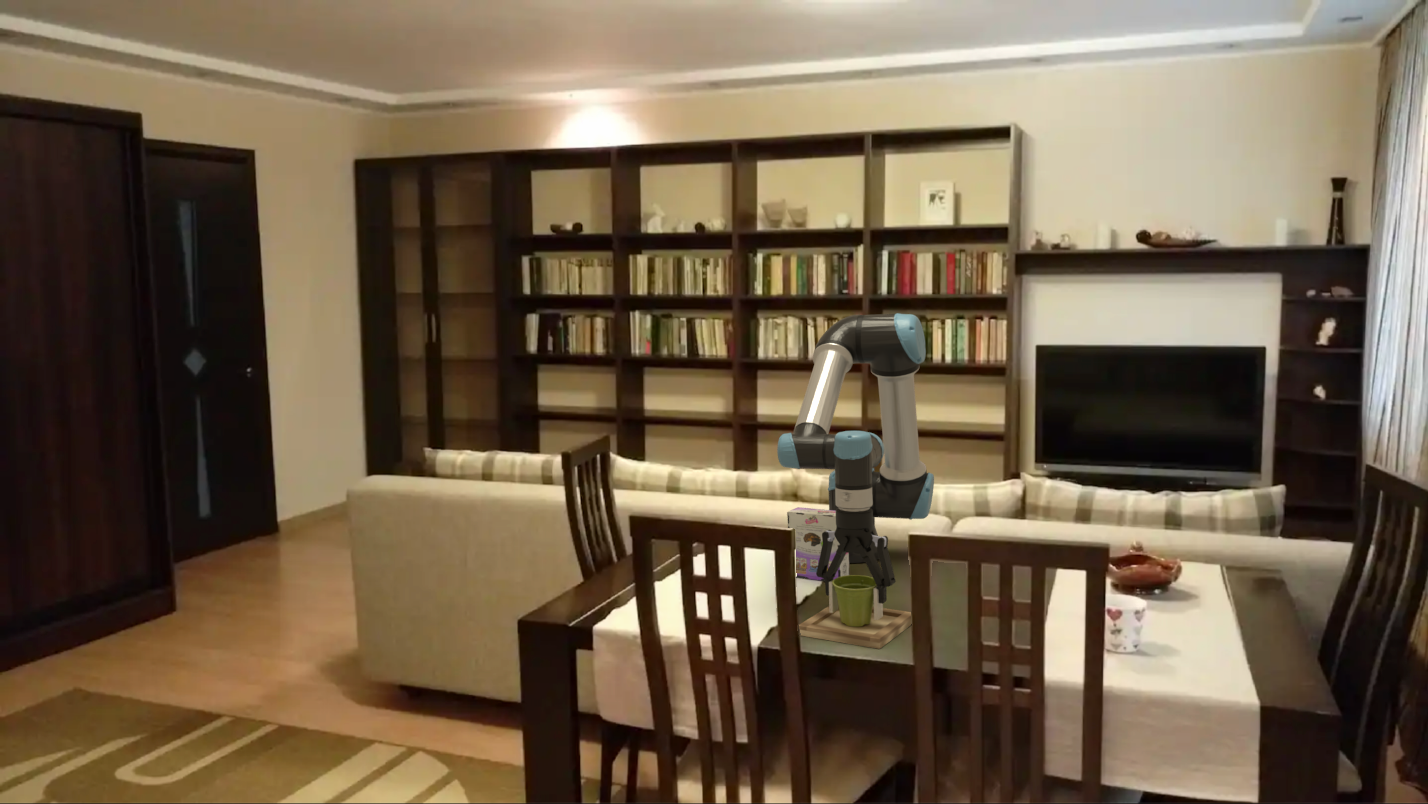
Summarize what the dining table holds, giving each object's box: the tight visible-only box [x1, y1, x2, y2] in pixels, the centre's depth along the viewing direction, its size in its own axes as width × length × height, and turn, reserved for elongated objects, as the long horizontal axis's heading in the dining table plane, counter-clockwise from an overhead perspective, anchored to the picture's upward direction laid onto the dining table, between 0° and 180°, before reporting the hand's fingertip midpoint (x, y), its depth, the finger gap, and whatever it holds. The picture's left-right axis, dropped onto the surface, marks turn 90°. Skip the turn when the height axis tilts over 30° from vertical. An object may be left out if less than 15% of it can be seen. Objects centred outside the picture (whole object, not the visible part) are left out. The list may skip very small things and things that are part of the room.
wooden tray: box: [798, 605, 911, 650], centre depth 218 cm, size 18×18×2 cm
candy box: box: [786, 507, 850, 582], centre depth 255 cm, size 14×6×16 cm, turn 58°
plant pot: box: [832, 574, 877, 627], centre depth 218 cm, size 9×9×9 cm
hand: (855, 614), depth 218 cm, fingers closed on plant pot, 9 cm apart
